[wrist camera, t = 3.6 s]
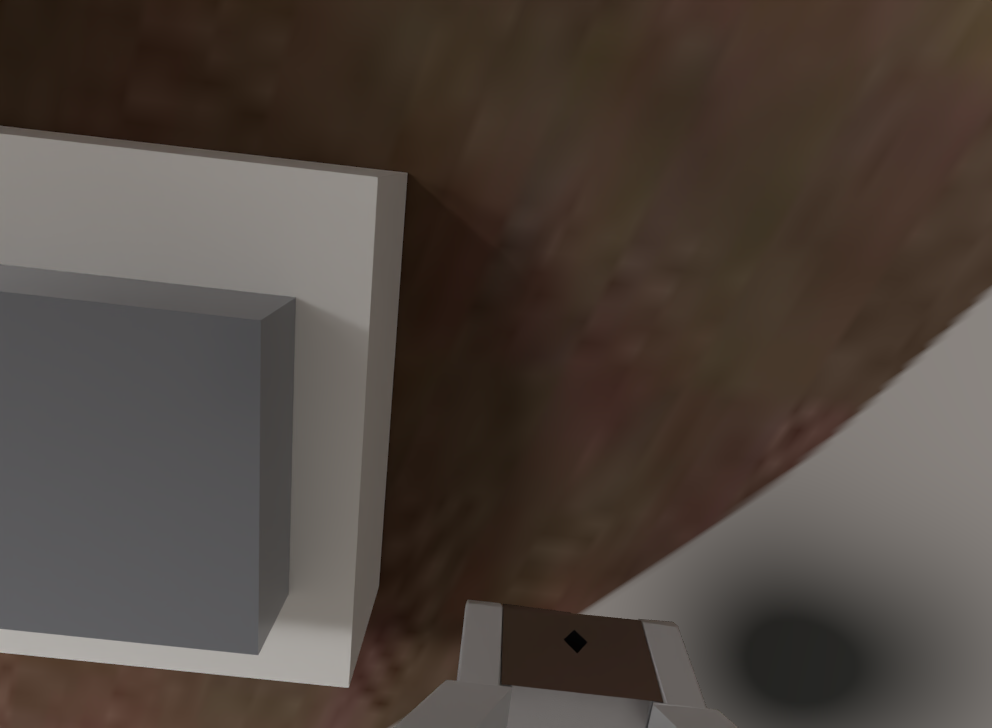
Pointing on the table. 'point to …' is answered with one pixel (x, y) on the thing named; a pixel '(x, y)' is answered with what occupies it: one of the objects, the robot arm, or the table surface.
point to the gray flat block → (144, 459)
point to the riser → (318, 345)
